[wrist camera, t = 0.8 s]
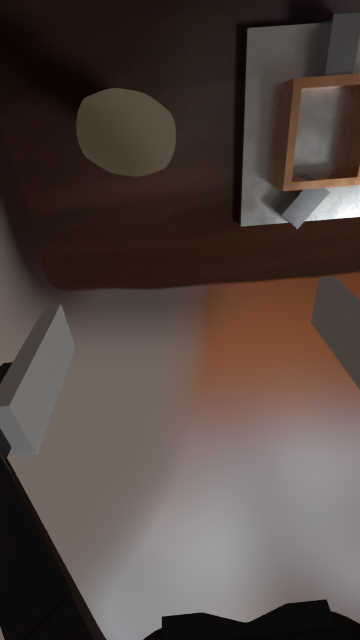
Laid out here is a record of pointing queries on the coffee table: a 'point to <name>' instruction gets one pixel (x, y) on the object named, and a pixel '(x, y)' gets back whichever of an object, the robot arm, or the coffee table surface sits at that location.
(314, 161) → the coupling base
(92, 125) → the handle
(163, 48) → the coffee table surface
